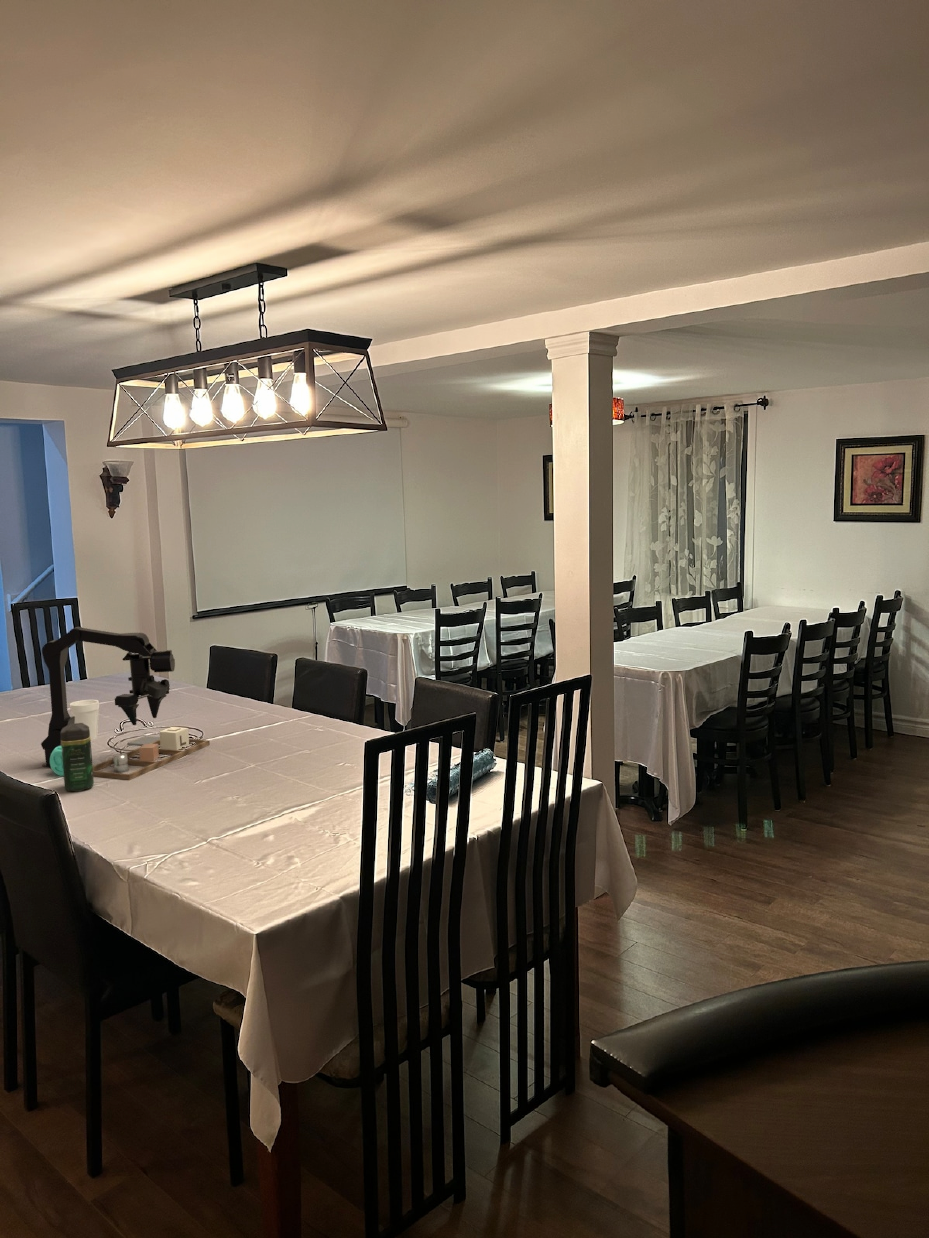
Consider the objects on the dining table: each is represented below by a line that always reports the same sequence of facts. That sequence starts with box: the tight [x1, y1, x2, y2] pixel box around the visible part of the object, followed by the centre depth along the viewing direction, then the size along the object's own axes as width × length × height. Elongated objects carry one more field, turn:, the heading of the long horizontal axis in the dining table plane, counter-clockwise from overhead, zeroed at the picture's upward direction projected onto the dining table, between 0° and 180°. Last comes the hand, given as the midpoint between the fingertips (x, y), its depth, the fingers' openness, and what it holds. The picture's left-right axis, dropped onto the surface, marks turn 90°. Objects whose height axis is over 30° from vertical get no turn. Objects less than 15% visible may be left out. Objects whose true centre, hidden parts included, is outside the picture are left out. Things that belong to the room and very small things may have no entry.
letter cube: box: [159, 726, 190, 750], centre depth 300 cm, size 6×7×7 cm
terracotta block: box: [138, 744, 160, 762], centre depth 289 cm, size 4×4×4 cm
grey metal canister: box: [112, 752, 129, 774], centre depth 277 cm, size 4×4×5 cm
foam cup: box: [69, 699, 100, 741], centre depth 316 cm, size 10×9×13 cm
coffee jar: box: [60, 723, 94, 792], centre depth 261 cm, size 10×8×19 cm
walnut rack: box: [93, 738, 211, 781], centre depth 289 cm, size 39×18×2 cm, turn 160°
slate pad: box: [126, 735, 160, 747], centre depth 310 cm, size 9×9×1 cm
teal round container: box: [50, 746, 64, 777], centre depth 277 cm, size 8×8×8 cm
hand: (144, 721), depth 286 cm, fingers open, 9 cm apart
